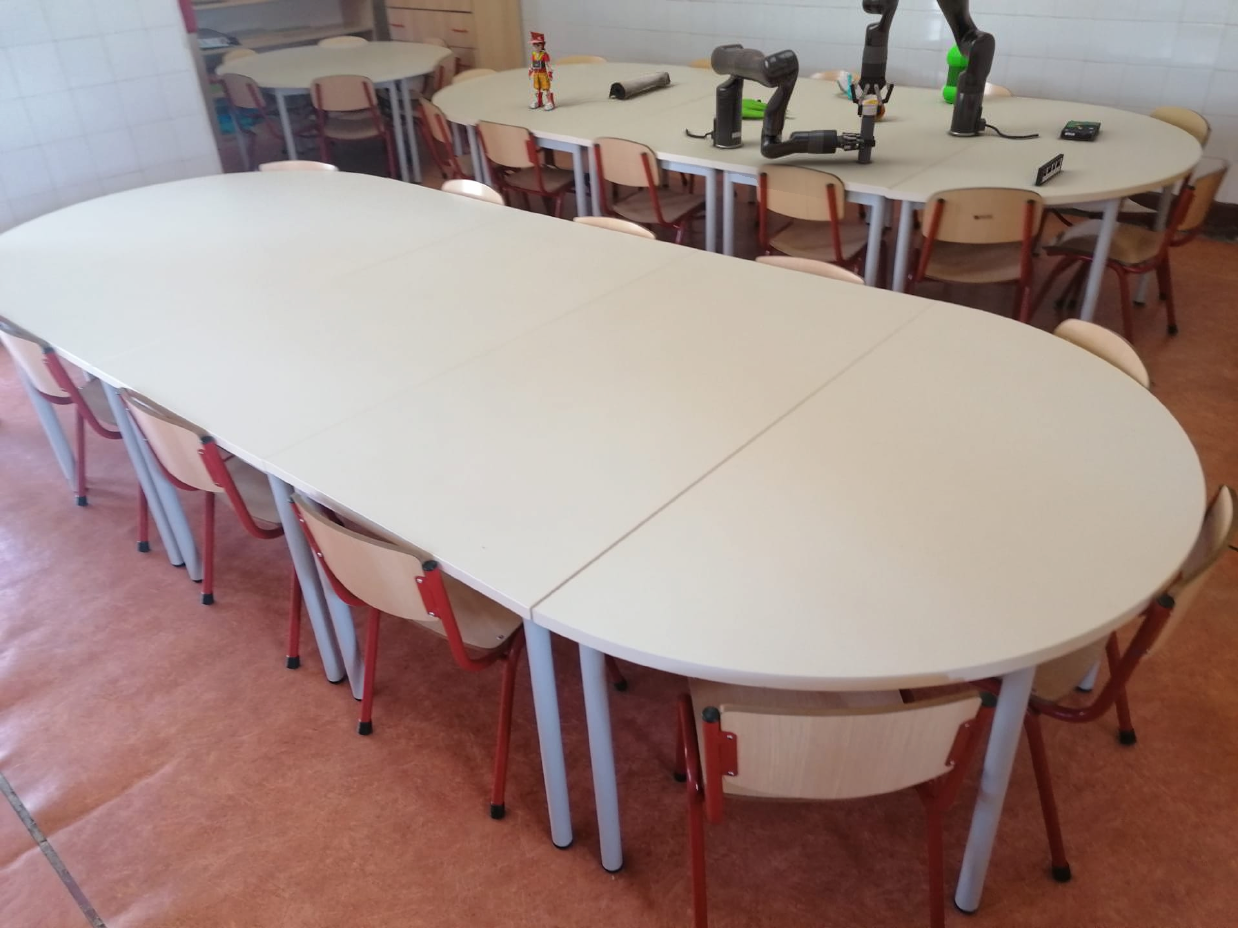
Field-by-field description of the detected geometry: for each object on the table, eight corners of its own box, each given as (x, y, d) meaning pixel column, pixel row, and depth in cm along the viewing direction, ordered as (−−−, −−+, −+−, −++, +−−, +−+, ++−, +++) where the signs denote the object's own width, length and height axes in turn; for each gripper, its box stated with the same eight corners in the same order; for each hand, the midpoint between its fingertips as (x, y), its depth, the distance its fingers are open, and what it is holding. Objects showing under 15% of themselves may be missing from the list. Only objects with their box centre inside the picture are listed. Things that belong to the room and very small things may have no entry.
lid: (858, 113, 290) (858, 105, 289) (870, 110, 292) (871, 103, 290) (868, 116, 286) (868, 108, 285) (880, 113, 288) (881, 106, 287)
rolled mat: (651, 76, 408) (662, 61, 399) (662, 93, 408) (674, 79, 400) (605, 92, 391) (616, 77, 383) (617, 110, 391) (628, 95, 383)
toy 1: (525, 109, 381) (517, 32, 364) (534, 104, 388) (527, 28, 371) (550, 110, 377) (543, 32, 360) (559, 105, 384) (553, 28, 367)
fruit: (856, 112, 335) (869, 93, 332) (858, 116, 343) (871, 96, 340) (874, 125, 334) (888, 105, 331) (876, 128, 342) (889, 109, 339)
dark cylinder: (872, 162, 297) (878, 110, 288) (863, 164, 295) (868, 112, 286) (864, 159, 300) (870, 108, 291) (854, 161, 299) (860, 110, 289)
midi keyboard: (1039, 185, 269) (1043, 168, 266) (1035, 184, 270) (1038, 168, 267) (1060, 170, 279) (1064, 154, 277) (1056, 169, 280) (1060, 153, 277)
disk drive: (1092, 142, 302) (1099, 130, 312) (1094, 133, 301) (1101, 122, 311) (1059, 139, 307) (1067, 127, 317) (1061, 130, 305) (1069, 119, 316)
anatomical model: (832, 71, 373) (856, 64, 372) (834, 96, 379) (858, 90, 378) (842, 79, 360) (867, 72, 360) (845, 105, 366) (869, 98, 366)
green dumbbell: (973, 101, 354) (984, 32, 339) (955, 106, 349) (966, 36, 335) (952, 97, 361) (962, 29, 346) (934, 102, 356) (944, 33, 342)
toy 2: (706, 117, 350) (777, 129, 338) (708, 103, 348) (779, 115, 335) (737, 106, 371) (804, 117, 358) (738, 93, 368) (807, 104, 355)
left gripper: (823, 136, 288) (878, 135, 286) (821, 124, 300) (874, 123, 297) (821, 160, 293) (875, 159, 290) (819, 147, 304) (871, 147, 302)
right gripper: (898, 57, 281) (891, 114, 291) (851, 58, 284) (846, 113, 294) (898, 62, 275) (891, 120, 285) (850, 63, 278) (845, 119, 288)
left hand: (874, 141), depth 294 cm, fingers closed on dark cylinder, 4 cm apart
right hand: (868, 116), depth 289 cm, fingers closed on lid, 4 cm apart
